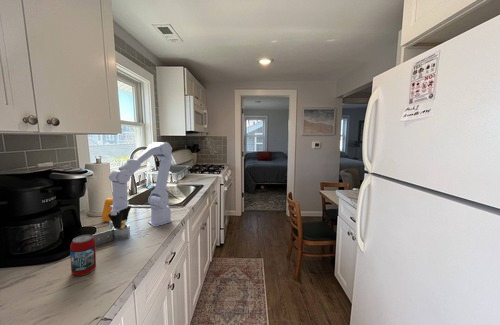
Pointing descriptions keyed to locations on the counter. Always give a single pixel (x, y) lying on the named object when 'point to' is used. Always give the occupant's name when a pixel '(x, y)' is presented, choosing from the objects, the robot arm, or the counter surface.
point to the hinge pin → (123, 223)
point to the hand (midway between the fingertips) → (120, 225)
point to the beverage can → (83, 255)
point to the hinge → (112, 234)
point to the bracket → (107, 209)
